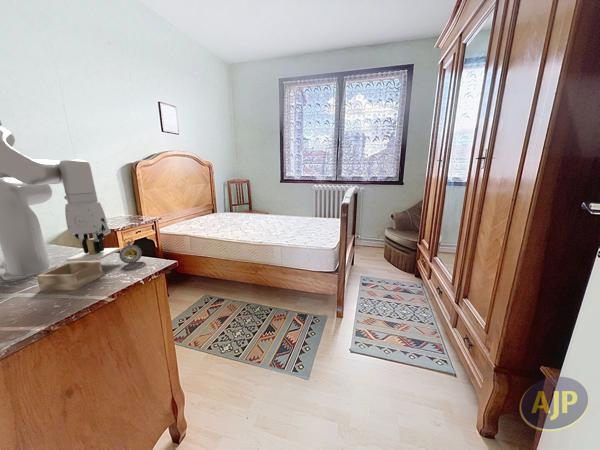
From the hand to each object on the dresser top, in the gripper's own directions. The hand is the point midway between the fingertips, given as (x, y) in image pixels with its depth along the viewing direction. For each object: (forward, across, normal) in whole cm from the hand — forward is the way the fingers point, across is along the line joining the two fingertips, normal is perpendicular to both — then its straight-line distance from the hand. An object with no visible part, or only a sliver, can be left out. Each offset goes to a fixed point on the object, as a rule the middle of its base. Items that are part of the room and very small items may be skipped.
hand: (94, 251), depth 85 cm
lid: (+1, 0, 0) cm, 1 cm away
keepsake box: (+6, +2, -12) cm, 14 cm away
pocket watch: (+7, +12, +1) cm, 14 cm away
